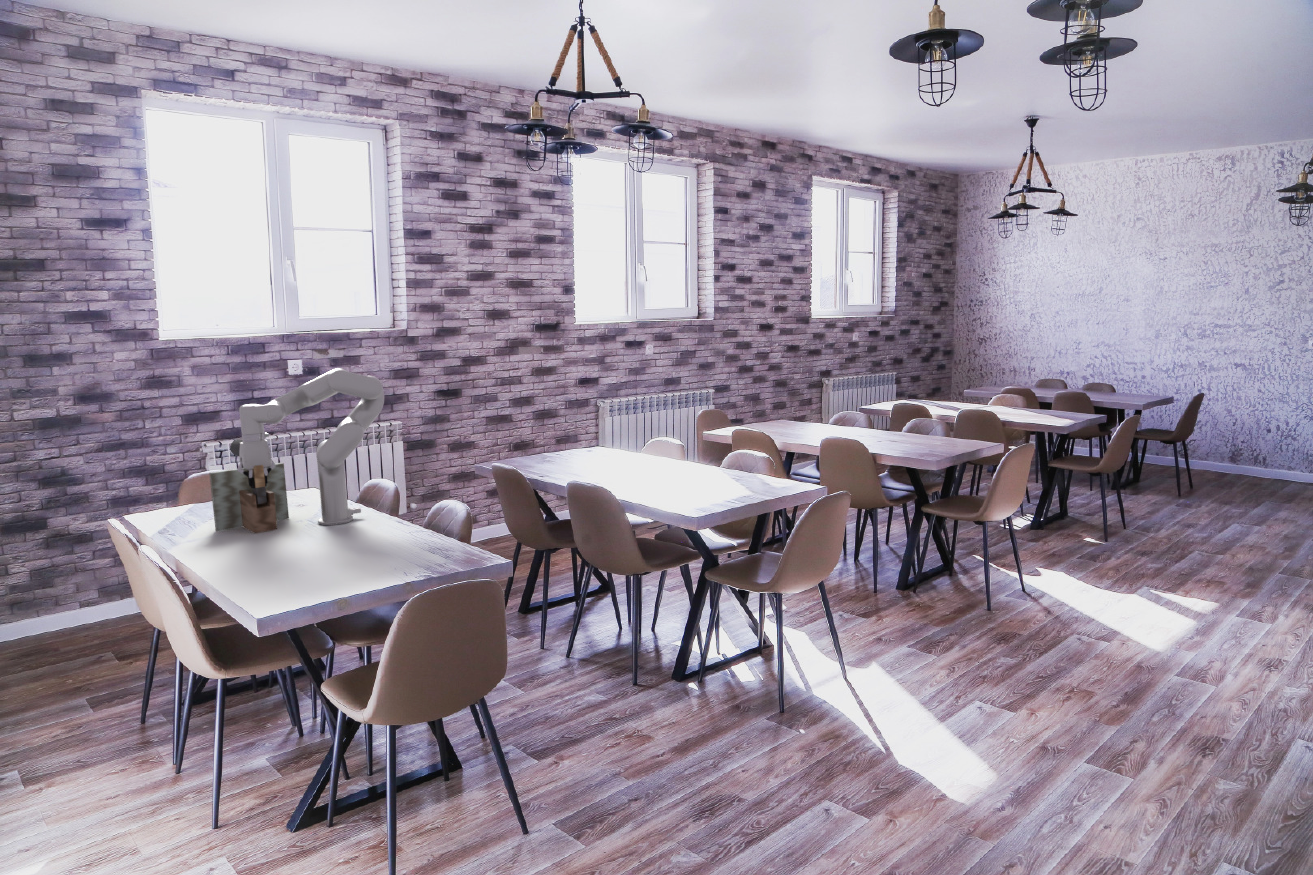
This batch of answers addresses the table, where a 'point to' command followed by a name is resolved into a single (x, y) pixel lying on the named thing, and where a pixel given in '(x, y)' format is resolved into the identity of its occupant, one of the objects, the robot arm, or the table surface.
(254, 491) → the brown and grey block
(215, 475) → the grey patterned screen
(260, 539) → the table surface
